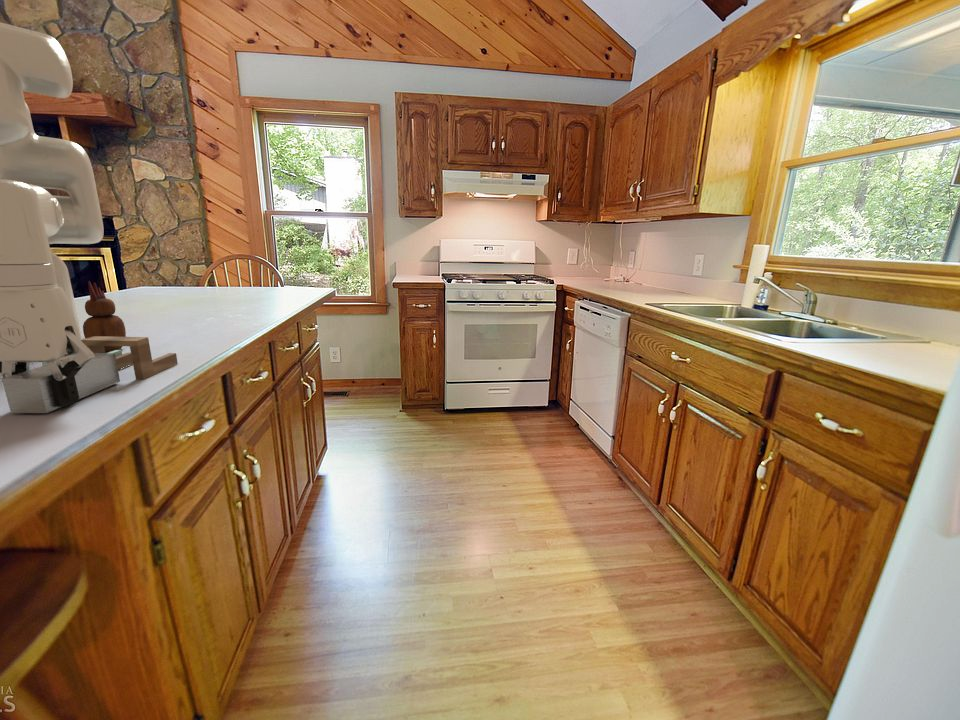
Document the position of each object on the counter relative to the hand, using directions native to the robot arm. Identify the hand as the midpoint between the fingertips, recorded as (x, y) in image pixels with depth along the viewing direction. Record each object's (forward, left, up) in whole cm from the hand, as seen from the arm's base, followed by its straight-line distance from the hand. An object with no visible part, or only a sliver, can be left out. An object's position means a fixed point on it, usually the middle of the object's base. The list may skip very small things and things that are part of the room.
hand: (48, 402), depth 62 cm
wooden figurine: (-15, +33, -1) cm, 36 cm away
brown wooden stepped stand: (0, +18, -1) cm, 18 cm away
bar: (0, +4, +2) cm, 4 cm away
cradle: (-9, +19, -1) cm, 21 cm away
